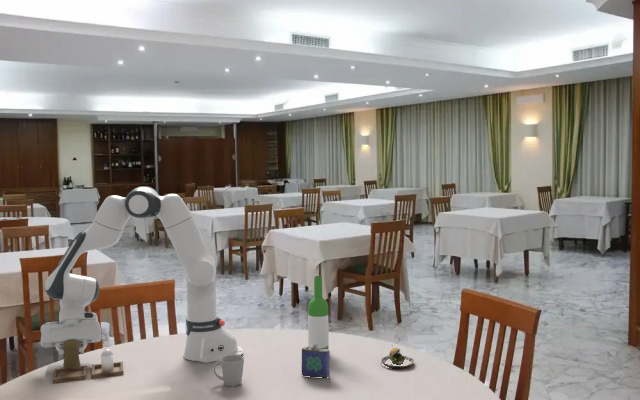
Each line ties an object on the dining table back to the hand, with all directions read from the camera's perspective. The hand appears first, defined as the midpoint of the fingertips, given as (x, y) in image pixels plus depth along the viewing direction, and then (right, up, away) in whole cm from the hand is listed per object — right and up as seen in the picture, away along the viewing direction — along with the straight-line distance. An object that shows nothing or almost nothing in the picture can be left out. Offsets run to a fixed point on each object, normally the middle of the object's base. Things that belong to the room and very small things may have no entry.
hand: (71, 354), depth 208 cm
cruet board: (+9, -6, -6) cm, 13 cm away
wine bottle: (+87, -5, +18) cm, 89 cm away
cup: (+58, -7, -12) cm, 59 cm away
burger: (+116, -6, +6) cm, 116 cm away
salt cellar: (+14, -5, -4) cm, 16 cm away
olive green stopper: (0, -6, +1) cm, 6 cm away
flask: (+86, -6, -6) cm, 87 cm away
